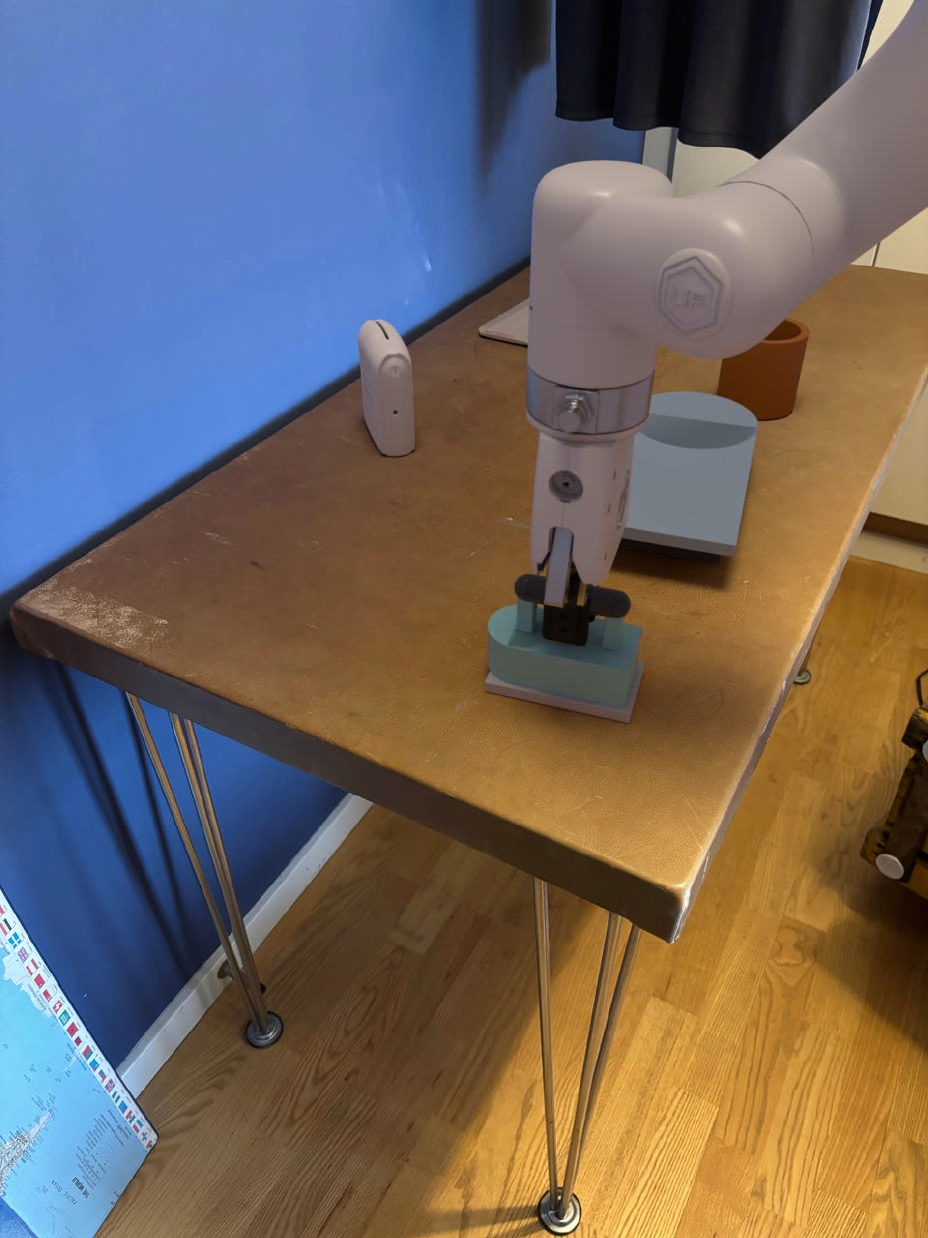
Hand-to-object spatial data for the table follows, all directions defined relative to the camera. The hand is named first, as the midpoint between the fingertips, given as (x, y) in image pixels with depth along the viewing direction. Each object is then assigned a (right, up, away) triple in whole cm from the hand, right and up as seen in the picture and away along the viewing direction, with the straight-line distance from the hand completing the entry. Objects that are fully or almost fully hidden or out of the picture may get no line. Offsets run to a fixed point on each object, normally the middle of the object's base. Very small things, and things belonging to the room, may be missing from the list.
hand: (569, 627), depth 66 cm
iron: (0, -4, +3) cm, 5 cm away
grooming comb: (+3, +42, +61) cm, 74 cm away
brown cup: (+27, +27, +42) cm, 56 cm away
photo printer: (-16, +21, +35) cm, 44 cm away
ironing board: (+13, +12, +24) cm, 30 cm away
